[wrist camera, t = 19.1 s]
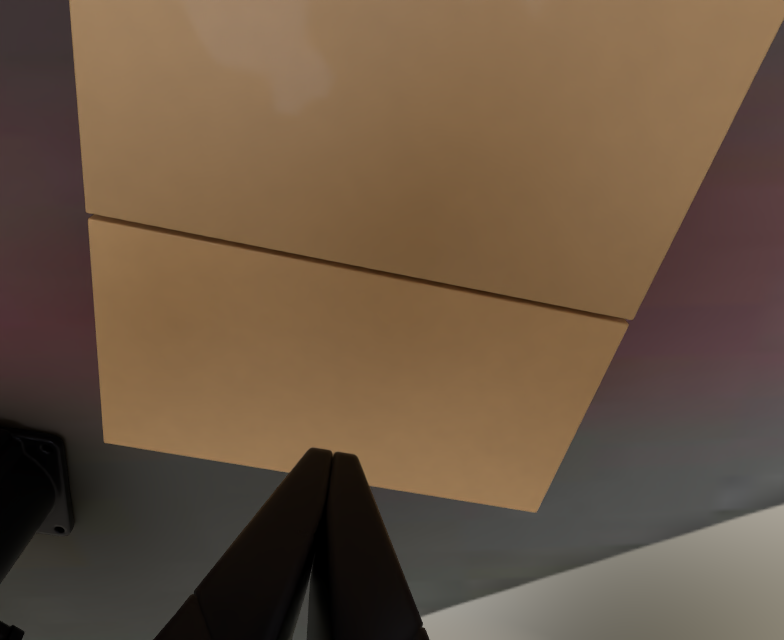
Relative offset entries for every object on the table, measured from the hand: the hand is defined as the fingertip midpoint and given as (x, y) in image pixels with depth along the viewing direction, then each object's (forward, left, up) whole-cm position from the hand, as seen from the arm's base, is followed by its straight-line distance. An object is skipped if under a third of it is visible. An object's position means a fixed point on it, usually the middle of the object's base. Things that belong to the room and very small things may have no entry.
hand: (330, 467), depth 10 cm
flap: (-2, 0, -6) cm, 6 cm away
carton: (+1, 0, -12) cm, 12 cm away
